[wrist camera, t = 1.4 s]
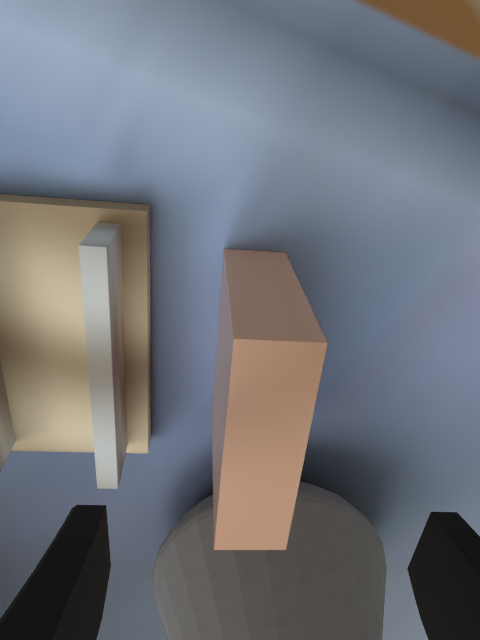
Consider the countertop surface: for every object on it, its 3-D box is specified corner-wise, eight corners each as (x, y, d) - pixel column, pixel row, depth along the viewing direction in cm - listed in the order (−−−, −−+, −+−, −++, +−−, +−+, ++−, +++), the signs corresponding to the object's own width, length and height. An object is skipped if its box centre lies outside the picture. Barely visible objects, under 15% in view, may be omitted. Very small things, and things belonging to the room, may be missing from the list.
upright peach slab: (262, 414, 21) (285, 549, 15) (211, 413, 21) (214, 550, 15) (285, 252, 18) (327, 342, 12) (224, 248, 18) (233, 338, 11)
